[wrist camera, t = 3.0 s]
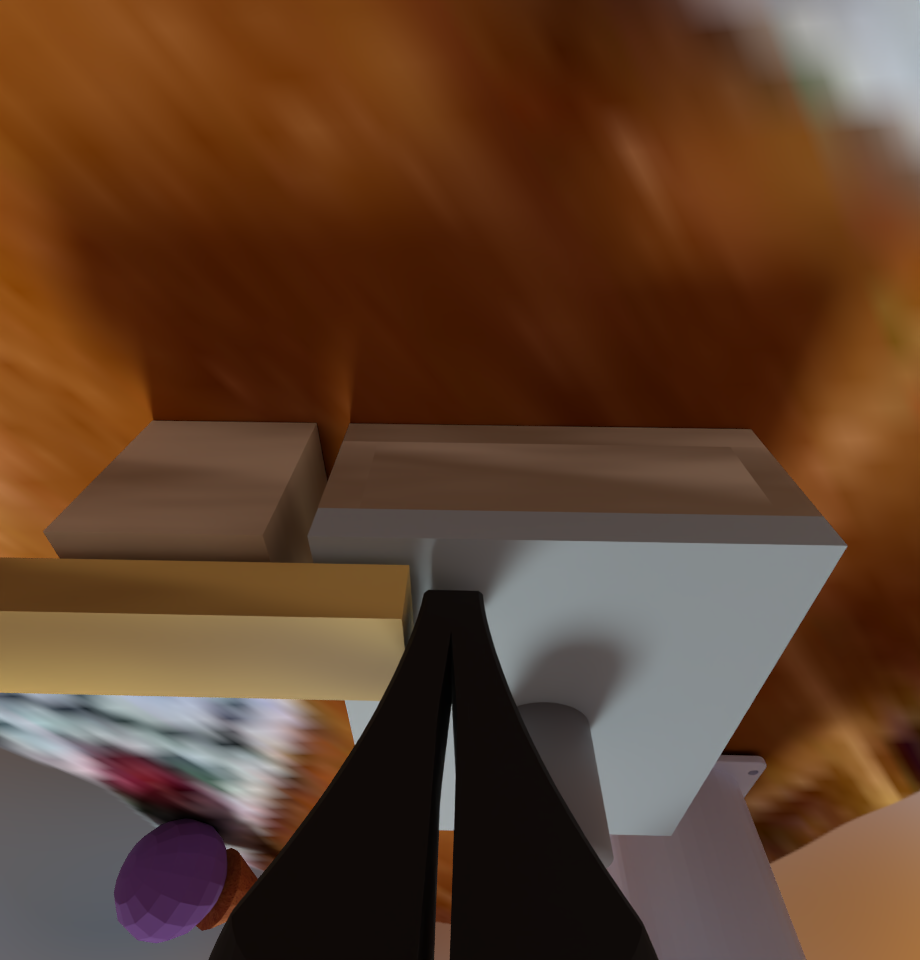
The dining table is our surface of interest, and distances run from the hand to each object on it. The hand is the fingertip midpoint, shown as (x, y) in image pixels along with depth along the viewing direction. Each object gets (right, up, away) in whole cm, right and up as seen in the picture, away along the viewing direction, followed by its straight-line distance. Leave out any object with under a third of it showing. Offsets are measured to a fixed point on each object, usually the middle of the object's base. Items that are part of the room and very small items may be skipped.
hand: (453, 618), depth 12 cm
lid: (+3, -3, +6) cm, 7 cm away
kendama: (-13, -24, +25) cm, 37 cm away
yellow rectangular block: (-6, 0, 0) cm, 6 cm away
